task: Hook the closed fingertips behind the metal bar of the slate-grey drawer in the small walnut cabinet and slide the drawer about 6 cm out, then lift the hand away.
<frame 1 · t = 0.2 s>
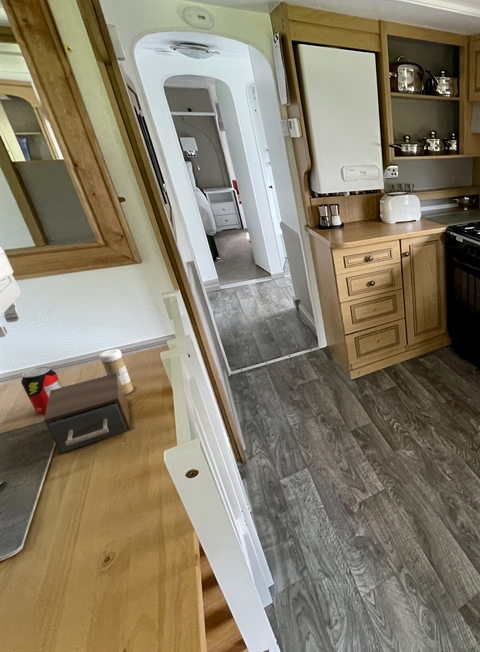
hand: (7, 328, 84), 30 cm above the table, tool pointing down, fingers open, 8 cm apart
drawer: (90, 420, 93), point 5 cm above the table, slide at 0.5 cm
beverage can: (53, 409, 104), on the table
sprinkles bottle: (124, 392, 112), on the table
cabinet: (97, 425, 98), on the table
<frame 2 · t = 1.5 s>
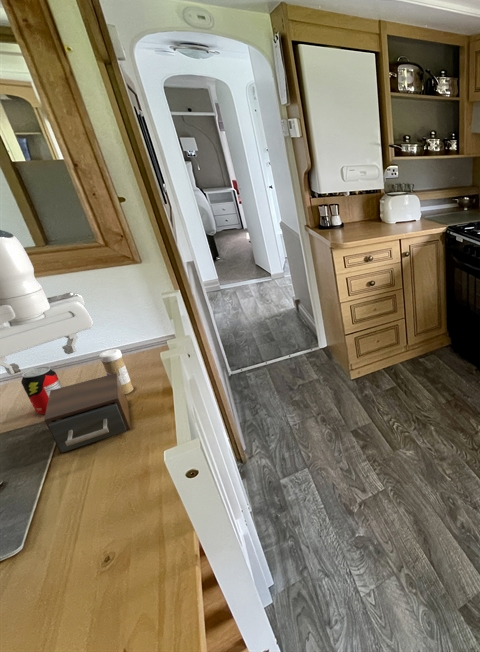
hand: (44, 362, 84), 23 cm above the table, tool pointing down, fingers open, 8 cm apart
nothing on the table moved.
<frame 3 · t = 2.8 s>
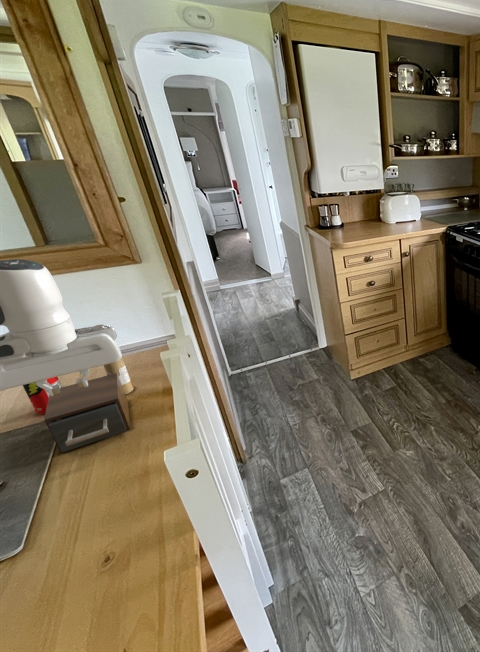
hand: (70, 390, 84), 17 cm above the table, tool pointing down, fingers open, 3 cm apart
nothing on the table moved.
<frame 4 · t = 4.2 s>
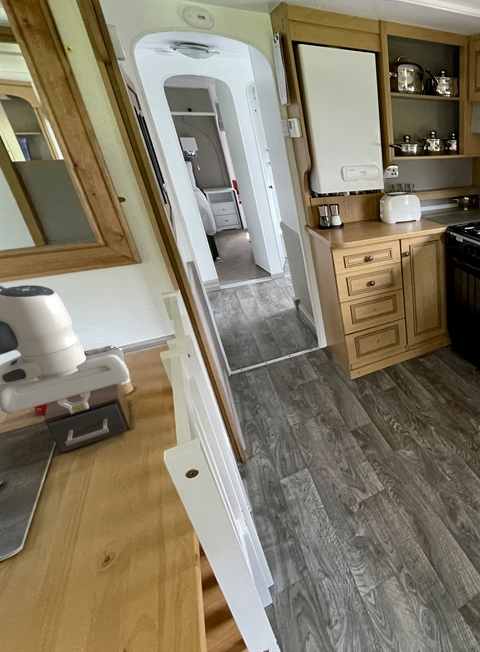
hand: (80, 410, 86), 12 cm above the table, tool pointing down, fingers closed
nothing on the table moved.
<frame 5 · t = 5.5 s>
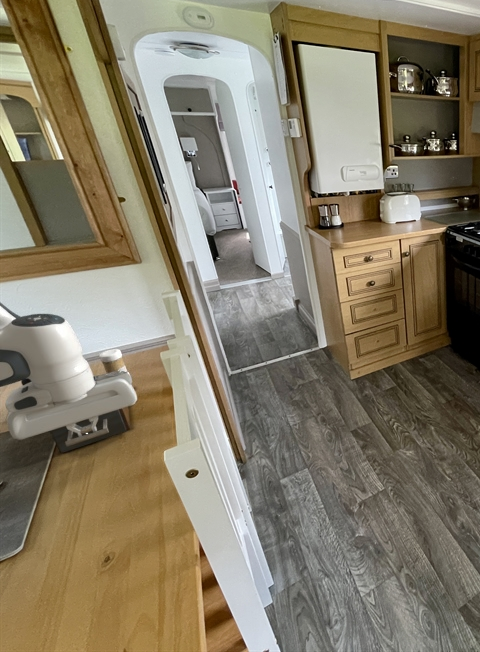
hand: (88, 433, 88), 6 cm above the table, tool pointing down, fingers closed, pressing on drawer
drawer: (90, 420, 93), point 5 cm above the table, slide at 0.6 cm, touching gripper
everything else where it was.
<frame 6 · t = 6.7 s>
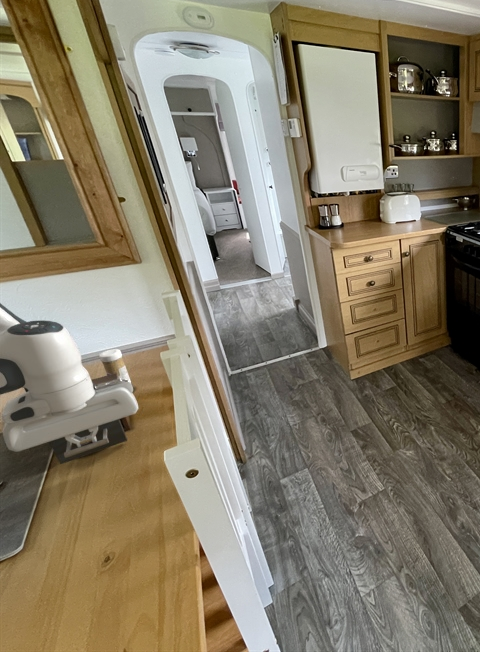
hand: (88, 444, 85), 6 cm above the table, tool pointing down, fingers closed, pressing on drawer
drawer: (89, 429, 90), point 5 cm above the table, slide at 5.0 cm, touching gripper
everything else where it was.
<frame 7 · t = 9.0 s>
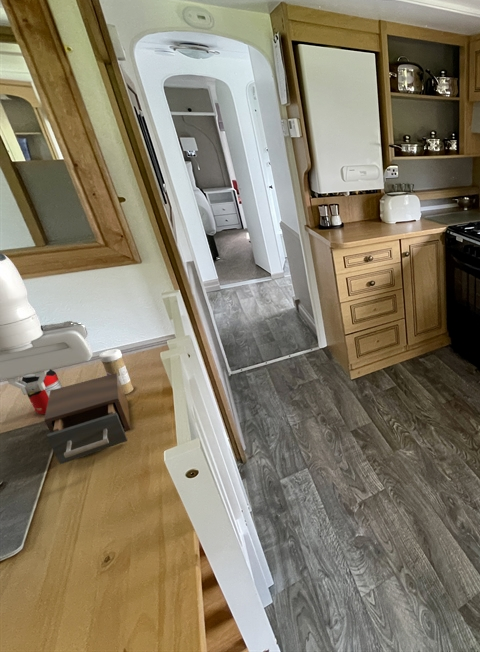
hand: (35, 391, 78), 20 cm above the table, tool pointing down, fingers closed
drawer: (89, 429, 90), point 5 cm above the table, slide at 5.1 cm
everything else where it was.
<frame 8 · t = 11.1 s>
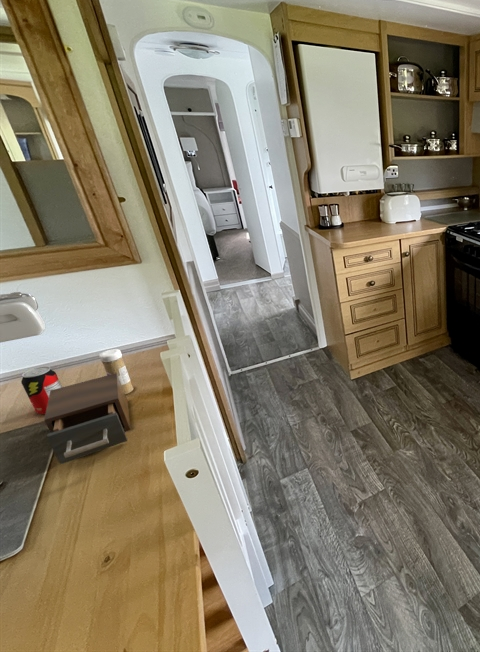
nothing on the table moved.
at the end: drawer slide at 5.1 cm; sprinkles bottle moved 0.2 cm from its start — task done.
